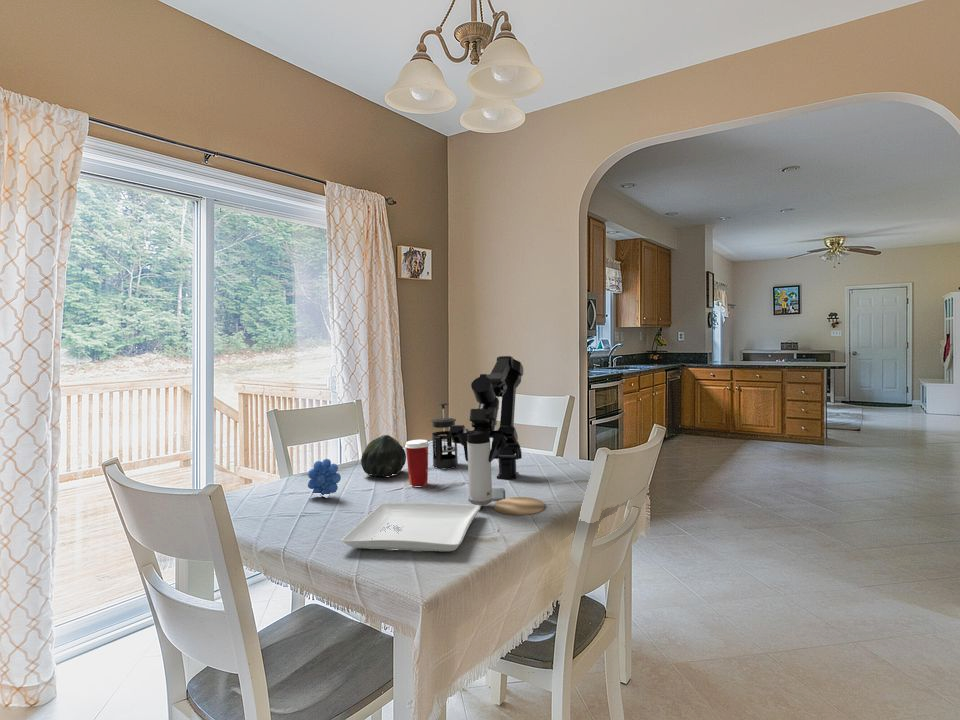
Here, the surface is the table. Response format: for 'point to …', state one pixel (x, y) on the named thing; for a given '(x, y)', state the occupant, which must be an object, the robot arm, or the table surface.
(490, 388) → the robot arm
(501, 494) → the stone coaster
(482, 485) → the travel mug
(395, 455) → the squash
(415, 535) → the square plate
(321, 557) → the table surface
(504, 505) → the cork trivet
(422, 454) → the paper cup
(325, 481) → the blue lobed thick disc
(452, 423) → the french press
